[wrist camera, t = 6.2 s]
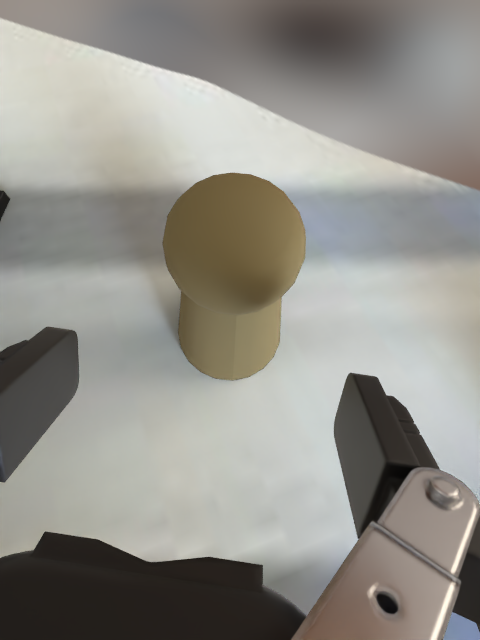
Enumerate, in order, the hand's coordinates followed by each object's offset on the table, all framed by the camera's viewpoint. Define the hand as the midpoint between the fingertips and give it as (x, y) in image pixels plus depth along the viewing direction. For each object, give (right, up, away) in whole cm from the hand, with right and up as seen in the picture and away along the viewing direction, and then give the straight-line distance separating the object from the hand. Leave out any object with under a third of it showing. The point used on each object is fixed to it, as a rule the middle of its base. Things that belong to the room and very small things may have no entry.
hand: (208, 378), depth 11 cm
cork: (0, +1, +12) cm, 12 cm away
